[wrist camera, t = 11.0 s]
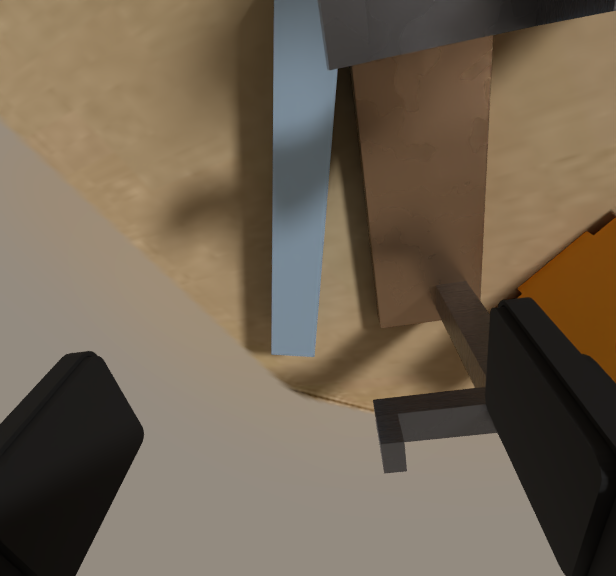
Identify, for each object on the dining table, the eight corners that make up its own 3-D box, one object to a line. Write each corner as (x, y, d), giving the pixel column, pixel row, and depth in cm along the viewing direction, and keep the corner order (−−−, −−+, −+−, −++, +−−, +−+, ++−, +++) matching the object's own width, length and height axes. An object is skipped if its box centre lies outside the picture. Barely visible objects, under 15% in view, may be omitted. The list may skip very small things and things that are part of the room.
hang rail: (342, -37, 19) (347, -61, 15) (314, 323, 30) (314, 356, 26) (282, -41, 19) (274, -65, 15) (276, 321, 30) (271, 354, 26)
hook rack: (484, -38, 18) (878, -286, 6) (472, 303, 28) (603, 503, 15) (312, 2, 19) (304, -130, 6) (358, 319, 29) (391, 519, 16)
